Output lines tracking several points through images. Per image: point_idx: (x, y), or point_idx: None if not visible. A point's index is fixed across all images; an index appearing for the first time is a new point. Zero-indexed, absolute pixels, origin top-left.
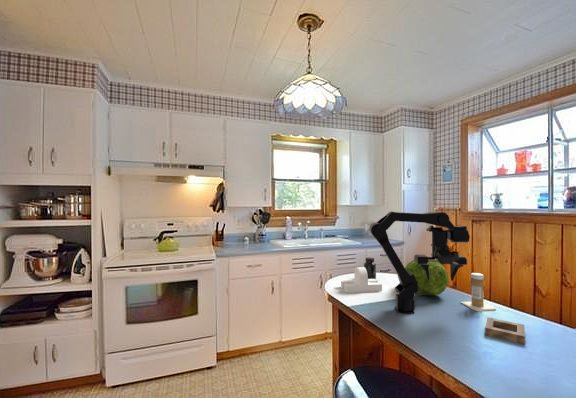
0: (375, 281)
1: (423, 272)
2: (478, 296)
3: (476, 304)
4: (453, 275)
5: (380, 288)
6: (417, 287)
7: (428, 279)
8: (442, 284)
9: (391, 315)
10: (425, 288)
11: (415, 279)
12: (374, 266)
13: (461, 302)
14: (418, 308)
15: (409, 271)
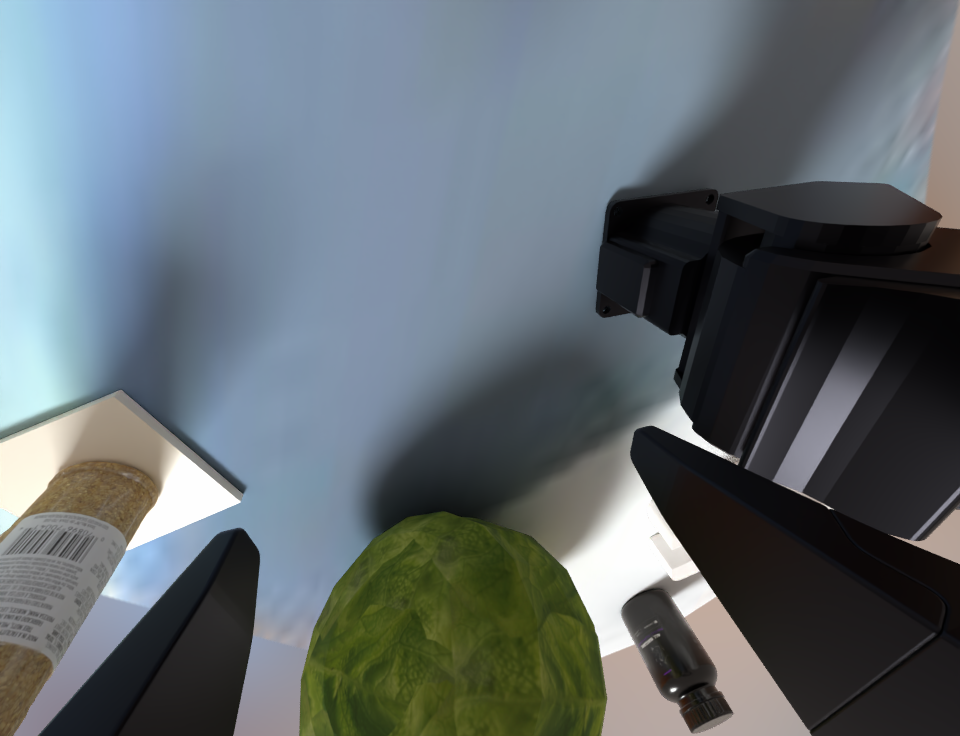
0: (678, 559)
1: (538, 670)
2: (32, 533)
3: (106, 472)
4: (145, 658)
5: None
6: (781, 248)
7: (654, 432)
8: (357, 604)
9: (775, 126)
10: (484, 527)
11: (945, 292)
12: (672, 672)
13: (236, 496)
14: (545, 319)
15: (939, 517)
